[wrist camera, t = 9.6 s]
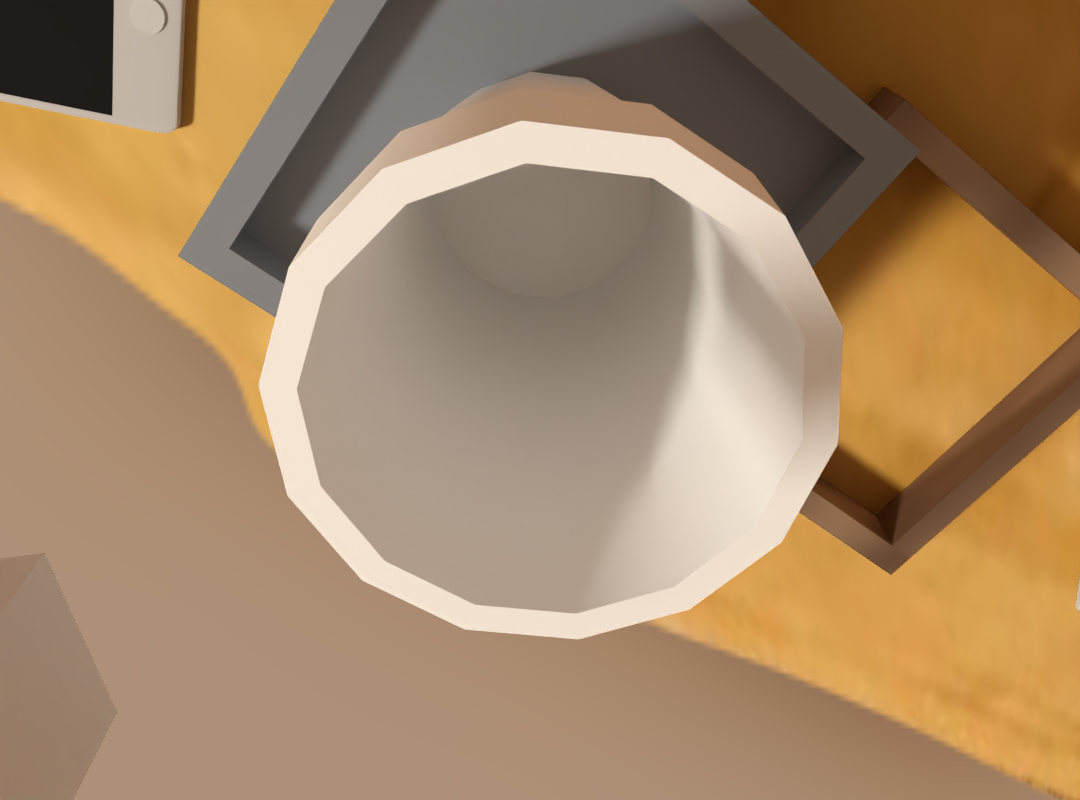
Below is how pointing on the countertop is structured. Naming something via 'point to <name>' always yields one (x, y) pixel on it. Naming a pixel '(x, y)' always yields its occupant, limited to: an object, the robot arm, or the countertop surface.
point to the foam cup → (552, 365)
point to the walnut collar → (1013, 424)
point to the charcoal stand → (554, 48)
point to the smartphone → (96, 59)
